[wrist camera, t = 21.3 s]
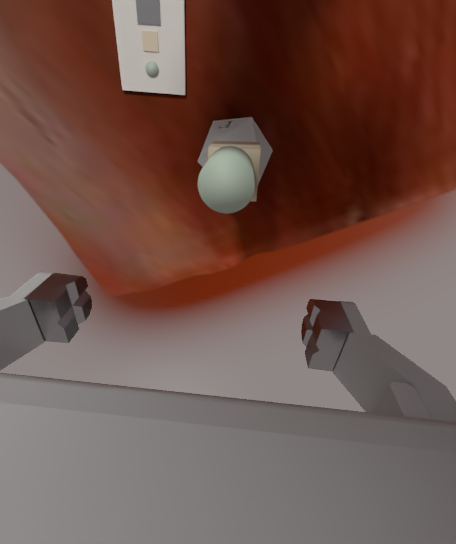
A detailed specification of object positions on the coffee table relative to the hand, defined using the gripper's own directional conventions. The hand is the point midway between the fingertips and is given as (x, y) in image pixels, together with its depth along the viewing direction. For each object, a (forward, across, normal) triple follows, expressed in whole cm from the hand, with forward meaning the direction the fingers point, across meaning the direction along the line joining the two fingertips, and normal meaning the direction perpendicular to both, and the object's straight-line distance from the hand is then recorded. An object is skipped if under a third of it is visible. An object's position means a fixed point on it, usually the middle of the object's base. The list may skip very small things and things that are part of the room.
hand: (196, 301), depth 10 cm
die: (+33, 0, 0) cm, 33 cm away
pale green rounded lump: (+20, 0, 0) cm, 21 cm away
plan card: (+33, +11, -11) cm, 37 cm away
